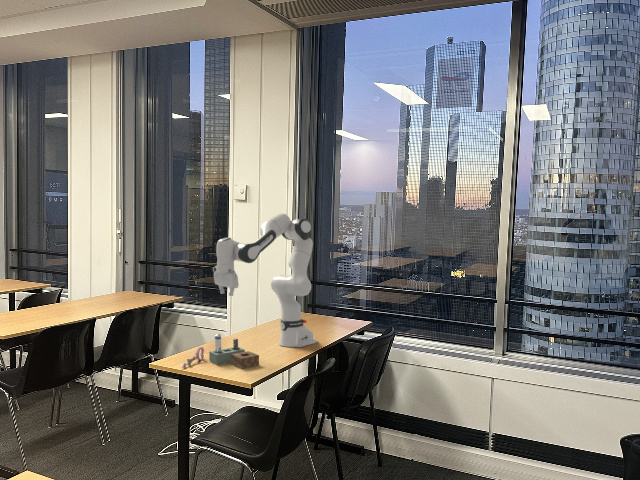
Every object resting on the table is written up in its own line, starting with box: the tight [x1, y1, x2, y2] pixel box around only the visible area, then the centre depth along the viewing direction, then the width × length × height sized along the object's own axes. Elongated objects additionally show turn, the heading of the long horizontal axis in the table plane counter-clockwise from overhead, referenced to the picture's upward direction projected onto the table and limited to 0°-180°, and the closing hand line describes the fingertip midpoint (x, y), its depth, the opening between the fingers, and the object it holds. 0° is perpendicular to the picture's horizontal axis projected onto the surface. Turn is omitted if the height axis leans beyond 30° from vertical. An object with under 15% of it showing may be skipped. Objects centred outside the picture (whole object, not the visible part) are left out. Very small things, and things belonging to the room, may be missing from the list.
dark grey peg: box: [232, 338, 239, 350], centre depth 281 cm, size 2×2×10 cm
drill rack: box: [208, 346, 246, 366], centre depth 278 cm, size 16×8×5 cm, turn 128°
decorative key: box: [181, 346, 205, 369], centre depth 272 cm, size 7×1×20 cm
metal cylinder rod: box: [214, 333, 222, 354], centre depth 275 cm, size 3×3×14 cm
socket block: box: [230, 350, 260, 370], centre depth 269 cm, size 10×10×5 cm
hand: (226, 294), depth 288 cm, fingers open, 8 cm apart
